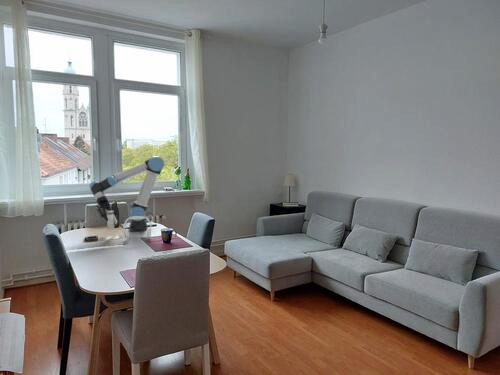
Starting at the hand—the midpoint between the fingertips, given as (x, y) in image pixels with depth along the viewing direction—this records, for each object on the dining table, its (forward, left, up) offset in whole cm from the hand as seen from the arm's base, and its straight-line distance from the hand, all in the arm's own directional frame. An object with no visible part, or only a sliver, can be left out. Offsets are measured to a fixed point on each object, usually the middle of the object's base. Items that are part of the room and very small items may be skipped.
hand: (113, 223), depth 259 cm
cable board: (+8, -3, -13) cm, 16 cm away
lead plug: (+2, -3, -4) cm, 6 cm away
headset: (-16, +5, -13) cm, 22 cm away
